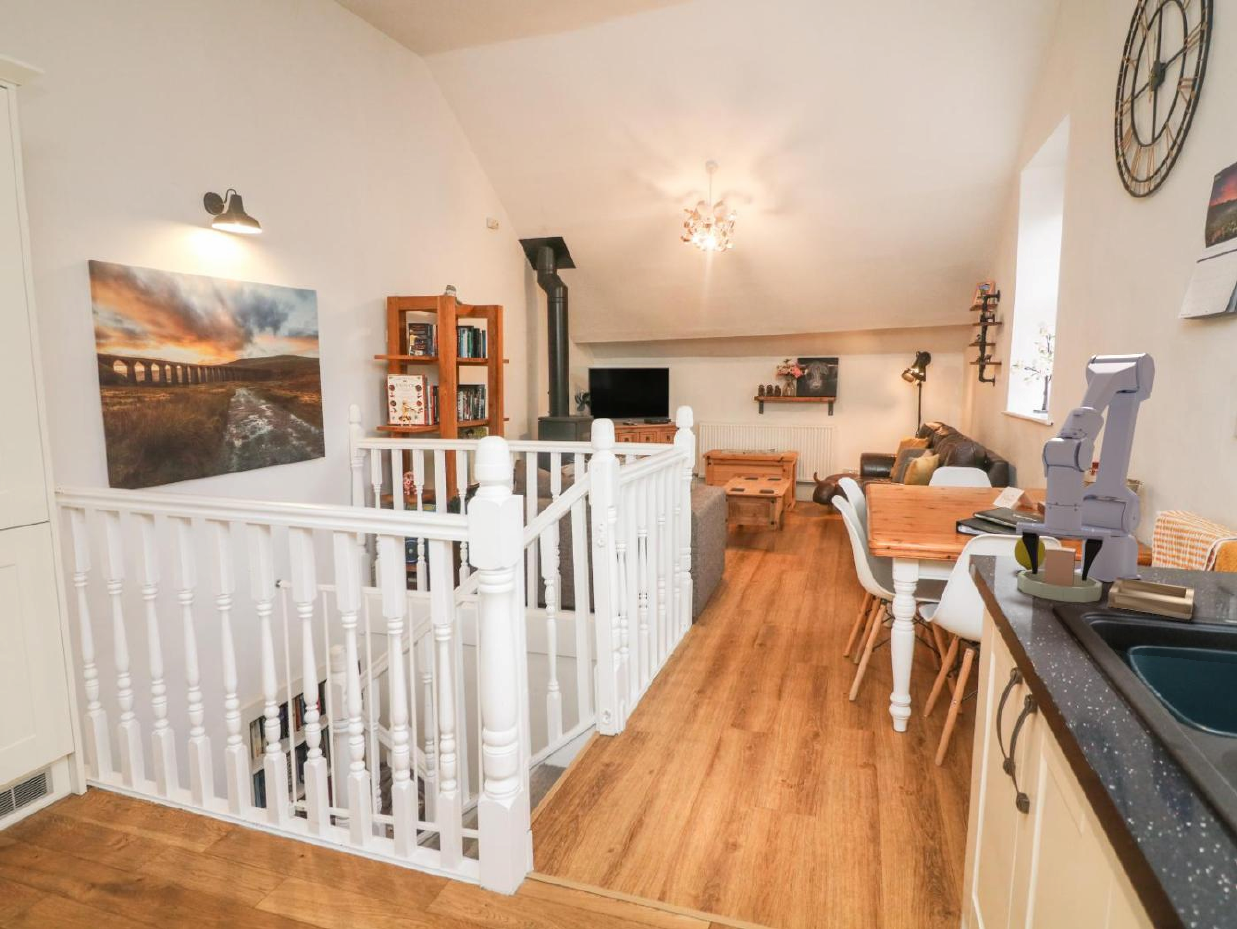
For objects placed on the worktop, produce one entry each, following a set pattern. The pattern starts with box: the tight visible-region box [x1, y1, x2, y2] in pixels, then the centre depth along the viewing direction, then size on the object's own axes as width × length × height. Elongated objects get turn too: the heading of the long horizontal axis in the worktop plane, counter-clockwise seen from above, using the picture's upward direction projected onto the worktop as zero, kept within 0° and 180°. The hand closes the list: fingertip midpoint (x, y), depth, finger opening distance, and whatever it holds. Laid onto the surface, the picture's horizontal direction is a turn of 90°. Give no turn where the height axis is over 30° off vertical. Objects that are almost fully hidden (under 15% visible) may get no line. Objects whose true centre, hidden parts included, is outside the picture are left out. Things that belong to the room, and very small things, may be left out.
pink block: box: [1044, 545, 1077, 587], centre depth 126 cm, size 4×4×8 cm
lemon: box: [1014, 536, 1047, 570], centre depth 141 cm, size 6×6×8 cm
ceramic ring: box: [1016, 568, 1103, 603], centre depth 127 cm, size 13×13×2 cm
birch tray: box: [1107, 577, 1195, 619], centre depth 119 cm, size 13×11×2 cm
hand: (1059, 576), depth 127 cm, fingers open, 7 cm apart
